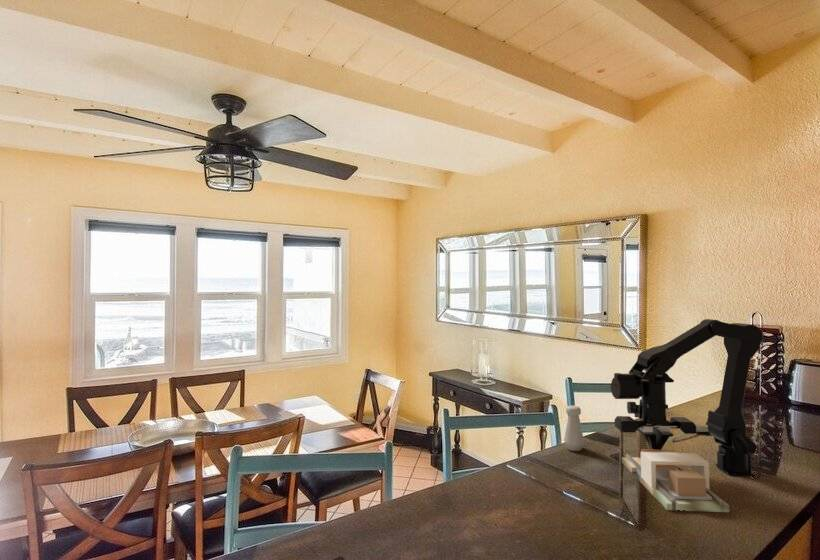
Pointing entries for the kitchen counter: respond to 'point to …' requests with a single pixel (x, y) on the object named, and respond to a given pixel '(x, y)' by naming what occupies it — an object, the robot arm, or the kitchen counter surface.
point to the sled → (680, 481)
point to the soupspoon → (698, 429)
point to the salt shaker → (573, 429)
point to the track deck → (667, 499)
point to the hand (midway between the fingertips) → (654, 456)
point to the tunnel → (671, 458)
